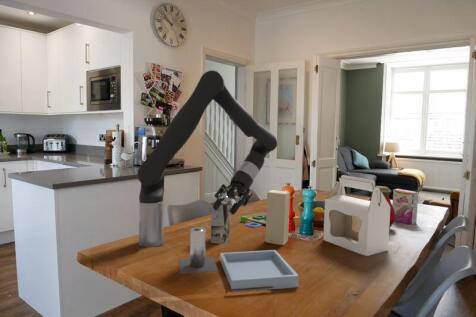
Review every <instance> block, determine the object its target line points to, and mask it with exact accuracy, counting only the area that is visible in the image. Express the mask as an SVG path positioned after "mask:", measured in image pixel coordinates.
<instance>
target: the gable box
mask: <svg viewBox="0 0 476 317" xmlns="http://www.w3.org/2000/svg"><path fill="white" fill-rule="evenodd" d="M338 180H339V181H335V185H334V186H333V188H332V189H331V191H330V192H329V193H328V195H327V197H326V198H325V199H324V217H323V219H324V220H323V241H325V242H327V243H331V244H332V245H336V246H339V248H340V247H341V248H343V249H346V250H349V251H352V252H354V253H356V254H359V255H362V256H365V257H368V256H372V255H376V254H380V253H383V252H388V250H389V236H390V229H389V223H390V206H389V204H388V202H387V200H386V199H385V197H384V195H383V194H382V192H381V189H379V188H377V187H376V186H377V184H376V180H375V179H372V178H367V177H359V176H353V175H346V174H342V175H341V176H340V177H338ZM345 187H347V188H353V189H358V190H361V191H362V190H363V191H368V192H370V191H372V196H371V195H370V197H371V201H369V200H368V199H363V198H360V197H354V196H350V195H346V190H345ZM352 216H354V217H357V218H359V219H360V220H361V225H360V228H359V230H358V231H355V230H353V227H352V226H353V217H352Z"/></svg>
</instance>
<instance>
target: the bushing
mask: <svg viewBox="0 0 476 317" xmlns="http://www.w3.org/2000/svg"><path fill="white" fill-rule="evenodd" d="M189 233H190V234H189V238H190V239H189V259H190V266H191V267H193V268H201V267H204V266H205V258H206V228H205V227H198V226H197V227H191V228H190V229H189Z"/></svg>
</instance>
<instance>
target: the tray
mask: <svg viewBox="0 0 476 317" xmlns="http://www.w3.org/2000/svg"><path fill="white" fill-rule="evenodd" d="M219 261H220V264H221V266H222V268H223V271H224V274H225V276H226V278H227V281H228V284H229V285H230V288H231V293H243V291H244V292H253V291H254V290H257V291H268V289H269V290H277V289H278V290H280V289H292V288H299V277H300V276H299V275H298V273H297V272H296V271H295V270H294V269H293V268H292V267H291V265H290V264H289V263H288V262H287V261H286V260H285V259H284V258H283V257H282V256H281V254H280V253H279V252H278V251H277V249H267V250H252V251H251V250H249V251H233V252H220V253H219ZM254 288H255V289H254ZM241 289H242V290H241ZM254 292H255V291H254Z"/></svg>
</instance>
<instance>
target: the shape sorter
mask: <svg viewBox="0 0 476 317" xmlns="http://www.w3.org/2000/svg"><path fill="white" fill-rule="evenodd" d="M294 218H295V219H294V220H298V219H297V218H300V217H299V216H298V215H295V217H294ZM248 221H251V222H249V223H248ZM240 222H241V223H246V224H245V227H249V228H253V229H256V228H259V227H262V226H263V225H266V212H261V213H259V212H258V213H255V214H248V215H244V216H242V215H241V216H240Z"/></svg>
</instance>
